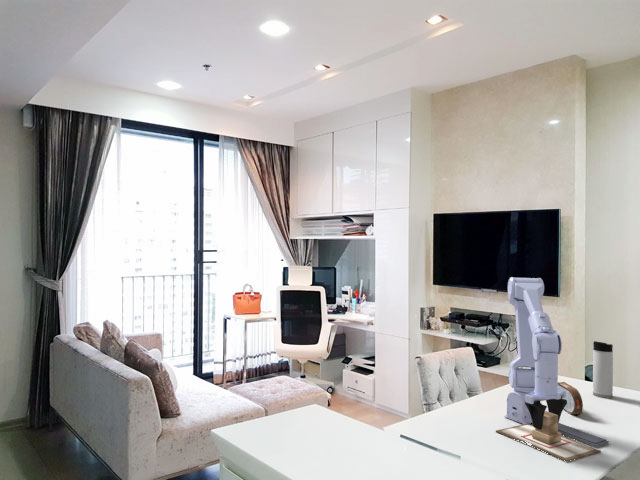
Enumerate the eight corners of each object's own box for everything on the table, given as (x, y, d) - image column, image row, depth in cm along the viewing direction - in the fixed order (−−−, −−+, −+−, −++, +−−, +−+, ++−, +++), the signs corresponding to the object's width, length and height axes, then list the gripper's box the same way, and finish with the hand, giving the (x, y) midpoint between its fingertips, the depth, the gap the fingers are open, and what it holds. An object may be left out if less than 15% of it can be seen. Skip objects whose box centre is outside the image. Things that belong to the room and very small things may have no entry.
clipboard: (566, 462, 118) (566, 459, 118) (495, 431, 137) (495, 429, 137) (600, 452, 124) (600, 449, 124) (528, 424, 144) (528, 422, 144)
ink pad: (595, 447, 127) (595, 443, 127) (539, 426, 142) (539, 423, 142) (608, 444, 130) (608, 439, 130) (552, 423, 145) (552, 420, 145)
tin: (583, 418, 151) (583, 391, 151) (573, 418, 151) (573, 391, 151) (560, 403, 166) (560, 379, 166) (551, 403, 166) (551, 378, 166)
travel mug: (588, 393, 178) (588, 340, 179) (601, 392, 180) (602, 339, 181) (602, 398, 172) (603, 343, 173) (616, 397, 174) (616, 342, 175)
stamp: (548, 445, 127) (549, 418, 127) (531, 438, 132) (532, 412, 132) (561, 441, 129) (561, 415, 130) (544, 435, 134) (544, 409, 134)
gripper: (541, 383, 124) (541, 435, 124) (576, 377, 131) (576, 427, 131) (518, 376, 130) (518, 426, 130) (553, 371, 137) (552, 419, 137)
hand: (545, 426), depth 131 cm, fingers open, 6 cm apart
